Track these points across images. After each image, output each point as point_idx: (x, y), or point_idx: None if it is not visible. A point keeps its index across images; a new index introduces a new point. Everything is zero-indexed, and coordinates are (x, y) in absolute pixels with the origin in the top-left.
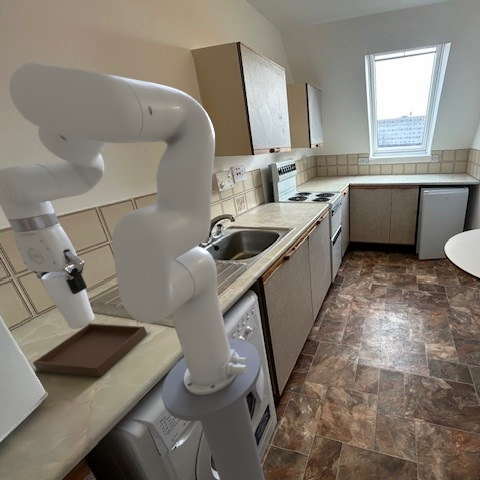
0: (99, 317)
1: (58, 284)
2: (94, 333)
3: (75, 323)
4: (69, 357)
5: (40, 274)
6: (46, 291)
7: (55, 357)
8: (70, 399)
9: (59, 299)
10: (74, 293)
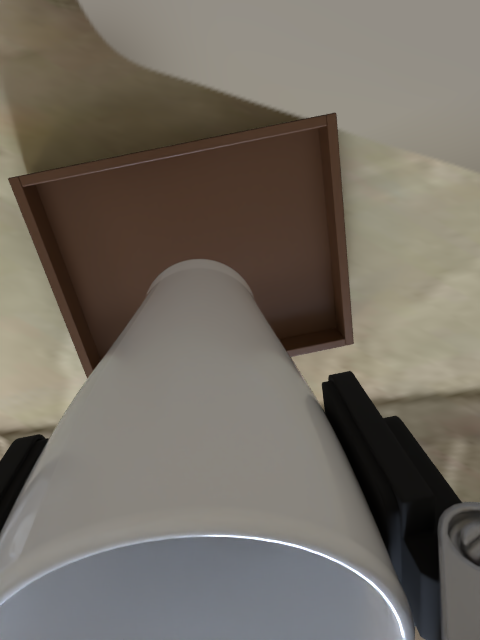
0: (399, 383)
1: (19, 500)
2: (304, 318)
3: (159, 280)
4: (255, 200)
5: (458, 597)
6: (355, 378)
7: (315, 182)
8: (10, 60)
9: (122, 346)
10: (13, 442)
